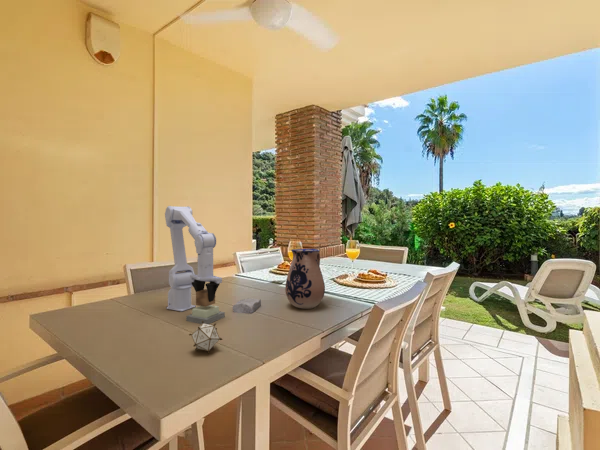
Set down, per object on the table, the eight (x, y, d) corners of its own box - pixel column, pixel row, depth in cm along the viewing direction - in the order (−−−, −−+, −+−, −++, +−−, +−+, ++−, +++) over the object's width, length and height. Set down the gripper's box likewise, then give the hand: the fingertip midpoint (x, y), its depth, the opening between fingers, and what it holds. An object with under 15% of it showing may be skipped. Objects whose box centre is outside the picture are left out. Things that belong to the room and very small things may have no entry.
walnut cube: (195, 304, 114) (195, 291, 114) (205, 301, 119) (205, 289, 119) (205, 306, 112) (205, 293, 112) (215, 303, 116) (215, 290, 116)
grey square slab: (186, 322, 113) (186, 315, 113) (205, 314, 122) (205, 308, 122) (206, 326, 109) (206, 319, 109) (224, 318, 118) (224, 312, 118)
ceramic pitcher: (278, 309, 128) (278, 250, 127) (297, 297, 147) (297, 246, 147) (317, 314, 121) (317, 252, 121) (332, 301, 141) (332, 247, 140)
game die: (201, 361, 89) (195, 328, 94) (228, 350, 90) (221, 318, 94) (187, 358, 81) (182, 323, 86) (217, 346, 82) (210, 311, 87)
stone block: (231, 317, 124) (254, 313, 122) (229, 305, 124) (251, 301, 122) (242, 309, 135) (263, 306, 134) (240, 299, 136) (261, 295, 134)
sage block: (192, 315, 114) (191, 309, 114) (205, 310, 120) (205, 304, 120) (206, 318, 111) (206, 311, 111) (219, 312, 117) (218, 306, 117)
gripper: (183, 265, 115) (183, 300, 115) (212, 267, 108) (212, 305, 109) (197, 262, 121) (197, 296, 121) (225, 265, 115) (225, 300, 115)
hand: (205, 300), depth 115 cm, fingers closed on walnut cube, 5 cm apart
